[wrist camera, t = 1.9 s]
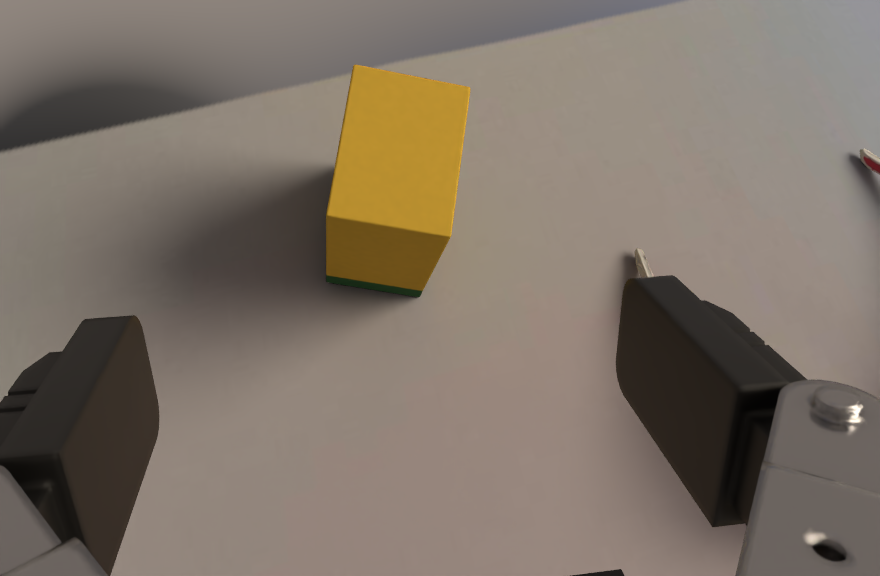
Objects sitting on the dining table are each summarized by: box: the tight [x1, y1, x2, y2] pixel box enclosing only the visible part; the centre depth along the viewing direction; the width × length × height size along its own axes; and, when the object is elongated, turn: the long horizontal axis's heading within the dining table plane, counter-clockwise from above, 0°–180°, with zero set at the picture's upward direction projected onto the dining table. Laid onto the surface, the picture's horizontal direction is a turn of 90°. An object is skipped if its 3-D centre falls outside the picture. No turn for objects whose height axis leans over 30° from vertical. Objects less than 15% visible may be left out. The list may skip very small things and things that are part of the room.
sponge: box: [326, 65, 470, 297], centre depth 30 cm, size 4×6×9 cm
